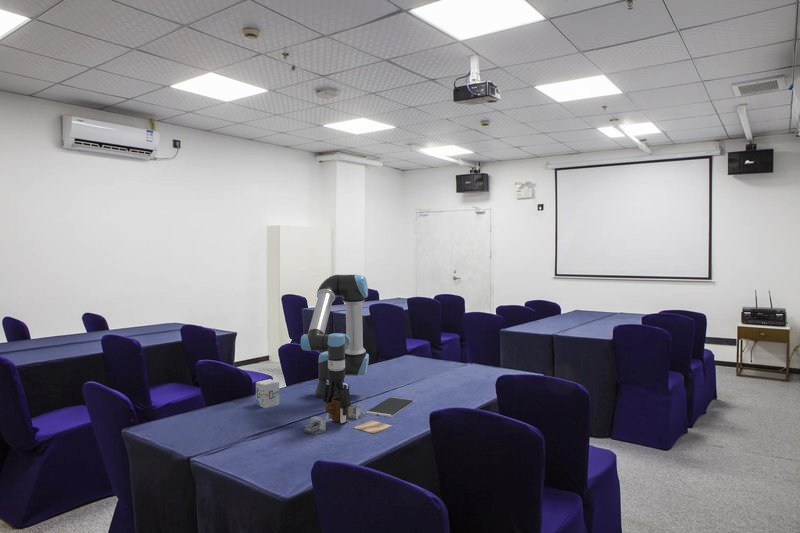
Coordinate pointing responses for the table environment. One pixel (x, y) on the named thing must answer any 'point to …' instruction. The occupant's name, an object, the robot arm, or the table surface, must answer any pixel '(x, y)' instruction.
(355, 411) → the grey angular pieces
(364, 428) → the coaster
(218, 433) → the table surface
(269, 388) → the ink box
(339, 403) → the mug
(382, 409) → the smartphone
